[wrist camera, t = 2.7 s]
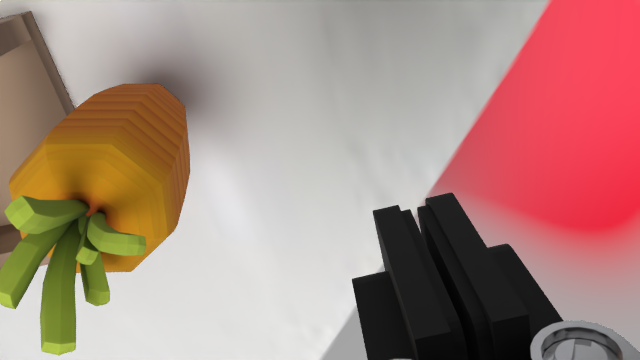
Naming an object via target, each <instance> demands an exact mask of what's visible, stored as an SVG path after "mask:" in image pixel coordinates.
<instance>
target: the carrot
mask: <svg viewBox="0 0 640 360" xmlns="http://www.w3.org/2000/svg"><path fill="white" fill-rule="evenodd" d="M189 175H190V154H189V143H188V133H187V122H186V113H185V106H184V105H183V104H182V103H181V102H180V101H179V100H178V99H177V98H176V97H174V96H173V95H172V94H171V93H170V92H169V91H167V90H166V89H165V88H164V87H163V86H162V85H160V84H122V85H119V86H115V87H112V88H109V89H106V90H104V91H101V92H99V93H96V94H94V95H93V96H91V97H90V98H89V99H88V100H86V101H85V102H84V103H82V104H81V105H80V106H78V107H77V108H76V109H75V110H73V111H72V112H71V113H70V114H69V115H68V116H67V117H66V118H64V119H63V120H62V121H61V122H60V123H59V124H58V125H57V126H55V127H54V128H53V129H52V130H51V131H50V132H49V134H48V135H47V136H46V137H45V138H44V139H43V140H42V142H41V143H40V144H39V145H38V146H37V147H36V148H35V149H34V151H33V152H32V153H31V154H30V155H29V156H28V157H27V158H26V160H25V161H24V162H23V163H22V164H21V165H20V166H19V168H18V169H17V170H16V171H15V172H14V173H13V175H12V176H11V178H10V181H9V185H8V186H9V190H10V194H11V198H12V202H11V203H10V205H9V206H8V207H7V208H6V210H5V211H4V212H5V214H6V216H7V218H8V220H9V221H10V222H11V223H12V224H13V225H14V226H15V227H16V228H17V229H18V230H20V233H21V237H22V240H21V241H20V242H19V243H18V245H17V246H16V248H15V249H14V250H13V252H12V253H11V255H10V256H9V257H8V259H7V260H6V262H5V263H4V264H3V266H2V268H1V270H0V304H2V305H3V306H5V307H8V308H12V309H16V307H17V306H18V304H19V302H20V300H21V299H22V297H23V295H24V293H25V292H26V290H27V288H28V286H29V284H30V283H31V281H32V279H33V277H34V275H35V273H36V271H37V269H38V267H39V266H40V264H41V262H42V261H43V259H44V258H45V257H46V255H47V256H48V257H50V261H49V264H48V268H47V271H46V275H45V278H44V282H43V290H42V302H41V314H40V323H41V349H42V351H43V352H47V353H51V354H56V355H61V354H64V353H67V352H72V351H74V350H75V348H76V310H75V276H76V273H81V276H82V282H83V287H84V293H85V298H86V301H87V302H89V303H91V304H93V305H95V306H99V305H104V304H107V303H108V302H109V301H110V290H109V286H108V282H107V278H106V274H105V272H131V271H132V270H134V269H135V268H136V267H137V266H138V265H139V264H140V263H141V262H142V261H143V260H144V259H145V258H146V257H147V256H148V255H149V254H150V253H151V252H152V251H153V250H155V249H156V248H157V247H158V246H159V245H160V244H161V243H162V242H163V241H164V240H165V239H166V238H167V237H168V236H169V235H170V234H171V233H172V232H173V231H174V230H175V228H176V226H177V224H178V220H179V217H180V213H181V209H182V206H183V202H184V198H185V194H186V189H187V184H188V180H189Z"/></svg>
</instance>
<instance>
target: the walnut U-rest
mask: <svg viewBox="0 0 640 360" xmlns="http://www.w3.org/2000/svg"><path fill="white" fill-rule="evenodd" d="M73 110H75V109H74V107H73V105H72V103H71V101H70V98H69V96H68V94H67V92H66V89H65V87H64V85H63V83H62V80H61V78H60V76H59V74H58V72H57V69H56V67H55V65H54V63H53V60H52V58H51V56H50V54H49V51H48V49H47V47H46V45H45V43H44V40H43V38H42V36H41V34H40V31H39V29H38V27H37V25H36V22H35V20H34V18H33V16H32V14H31V11H29V12H25V13H21V14H17V15H14V16H10V17H6V18H2V19H0V270H1V268H2V266H3V264H4V263H5V262H6V260H7V259H8V257H9V256H10V255H11V253H12V252H13V250H14V249H15V248H16V246H17V245H18V243H19V242H20V241H21V240H22V237H21V233H20V230H18V229H17V228H16V227H15V226H14V225H13V224H12V223H11V222H10V221H9V220H8V218H7V216H6V214H5V212H4V211H5V210H6V208H7V207H8V206H9V205H10V203H11V202H12V198H11V194H10V190H9V186H8V185H9V181H10V178H11V176H12V175H13V173H14V172H15V171H16V170H17V169H18V168H19V166H20V165H21V164H22V163H23V162H24V161H25V160H26V158H27V157H28V156H29V155H30V154H31V153H32V152H33V151H34V149H35V148H36V147H37V146H38V145H39V144H40V143H41V142H42V140H43V139H44V138H45V137H46V136H47V135H48V134H49V132H50V131H51V130H52V129H53V128H54V127H55V126H57V125H58V124H59V123H60V122H61V121H62V120H63V119H64V118H66V117H67V116H68V115H69V114H70V113H71V112H72V111H73ZM49 261H50V257H48V256H47V255H46V257H45V258H44V259H43V261H42V262H41V264H40V266H42V265H47V264H49Z"/></svg>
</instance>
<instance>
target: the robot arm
mask: <svg viewBox="0 0 640 360" xmlns="http://www.w3.org/2000/svg"><path fill="white" fill-rule="evenodd" d="M425 203H426V206H421V207H418V208H417V211H418V217H419V223H420V229H421V233H420V231H419V228H418V226H417V224H416V222H415V219H414V217H413V215H412V213H411V210H410V209H408V210H404V211H401V210H400V208H399V206H398V205H396V206H391V207H387V208H383V209H378V210H374V211H373V215H374V220H375V225H376V230H377V234H378V239H379V244H380V248H381V253H382V258H383V262H384V267H385V271H384V272H380V273H376V274H371V275H367V276H363V277H358V278H354V279H352V283H353V288H354V293H355V298H356V303H357V308H358V312H359V318H360V323H361V328H362V333H363V338H364V343H365V348H366V353H367V358H368V360H640V352H639V351H638V350H637V349H636V348H635V347H633V346H632V345H631V344H630V343H629V342H628V341H627V340H626V339H625V338H624V337H622V336H621V335H619V334H617V333H616V332H615V331H613V330H612V329H610V328H607V327H605V326H602V325H600V324H597V323H592V322H586V321H563V320H562V318H561V317H560V315H559V314H558V312H557V311H556V310H555V308H554V307H553V305H552V304H551V303H550V301H549V300H548V298H547V297H546V295H545V294H544V292H543V291H542V290H541V288H540V287H539V285H538V284H537V283H536V281H535V280H534V278H533V277H532V276H531V274H530V273H529V271H528V270H527V268H526V267H525V266H524V264H523V263H522V261H521V260H520V258H519V257H518V256H517V254H516V253H515V252H514V250H513V249H512V247H511V246H510V245H509V244H502V245H498V246H493V247H489V248H487V247H486V245H485V243H484V242H483V240H482V239H481V237H480V236H479V234H478V232H477V231H476V229H475V228H474V226H473V225H472V223H471V221H470V220H469V218H468V216H467V215H466V213H465V212H464V210H463V209H462V207H461V205H460V204H459V202H458V201H457V199H456V198H455V196H454V194H453V193H447V194H443V195H439V196H434V197H430V198H426V200H425Z"/></svg>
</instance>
